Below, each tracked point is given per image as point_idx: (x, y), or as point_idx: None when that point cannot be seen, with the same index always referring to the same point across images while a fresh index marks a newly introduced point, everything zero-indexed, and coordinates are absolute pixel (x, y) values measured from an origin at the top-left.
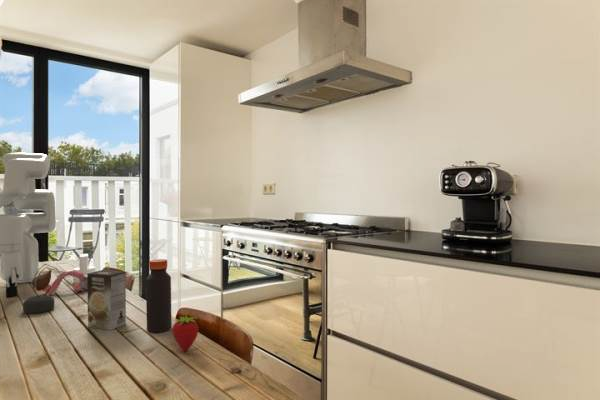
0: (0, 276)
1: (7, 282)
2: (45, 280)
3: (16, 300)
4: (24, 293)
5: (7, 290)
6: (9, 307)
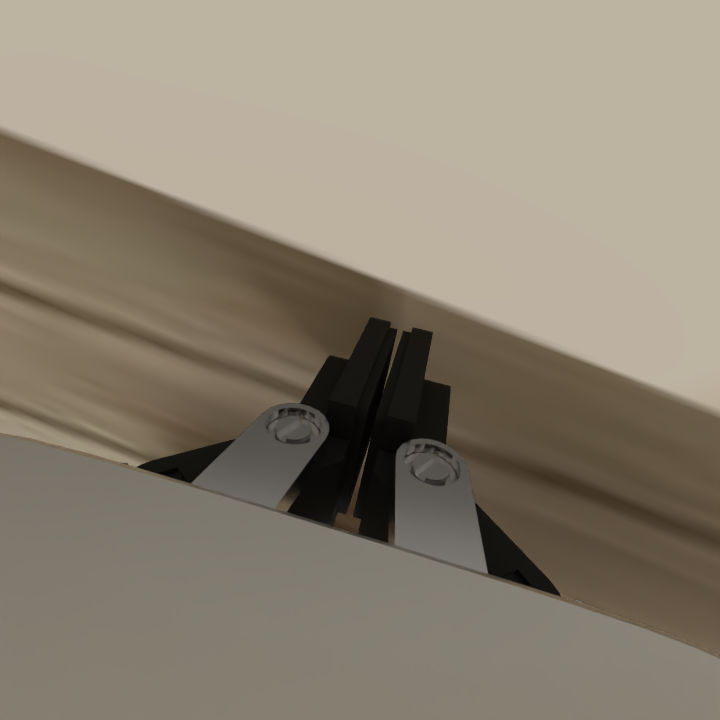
0: (647, 667)
1: (250, 478)
2: None
3: None
4: (628, 559)
5: (345, 380)
6: (56, 190)
